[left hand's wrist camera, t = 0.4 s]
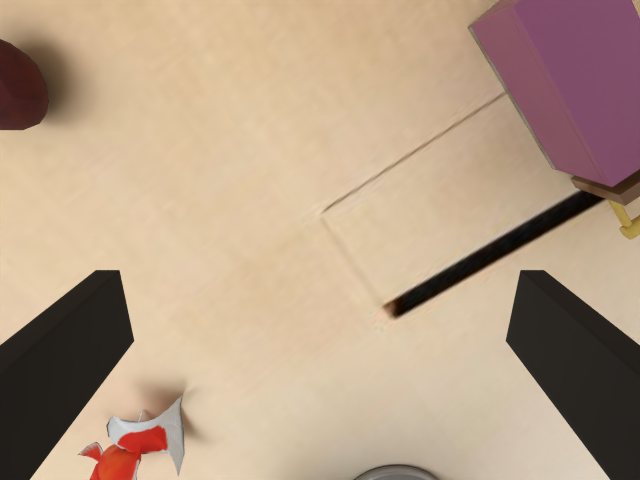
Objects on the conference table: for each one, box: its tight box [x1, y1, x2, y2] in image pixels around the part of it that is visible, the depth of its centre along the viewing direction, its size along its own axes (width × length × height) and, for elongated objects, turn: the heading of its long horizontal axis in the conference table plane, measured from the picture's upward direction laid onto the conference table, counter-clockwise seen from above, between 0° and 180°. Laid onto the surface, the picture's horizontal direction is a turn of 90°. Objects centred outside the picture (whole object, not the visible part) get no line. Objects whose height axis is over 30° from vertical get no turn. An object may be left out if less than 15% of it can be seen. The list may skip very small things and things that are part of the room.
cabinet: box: [468, 0, 640, 187], centre depth 32 cm, size 16×7×8 cm, turn 39°
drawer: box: [571, 169, 640, 239], centre depth 33 cm, size 21×5×7 cm, turn 39°
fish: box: [78, 395, 184, 480], centre depth 47 cm, size 11×16×10 cm
